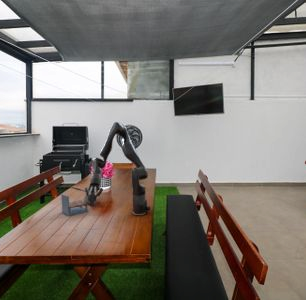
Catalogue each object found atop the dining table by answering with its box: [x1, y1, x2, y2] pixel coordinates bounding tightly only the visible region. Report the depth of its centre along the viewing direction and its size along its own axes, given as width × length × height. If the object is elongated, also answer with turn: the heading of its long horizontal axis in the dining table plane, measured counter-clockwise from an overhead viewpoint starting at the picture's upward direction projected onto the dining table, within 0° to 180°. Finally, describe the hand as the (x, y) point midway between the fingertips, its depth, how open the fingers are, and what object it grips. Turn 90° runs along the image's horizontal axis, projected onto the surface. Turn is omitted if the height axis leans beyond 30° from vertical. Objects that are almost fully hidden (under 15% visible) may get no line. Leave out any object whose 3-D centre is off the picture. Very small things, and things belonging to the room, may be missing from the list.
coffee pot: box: [70, 186, 99, 205], centre depth 209 cm, size 21×12×15 cm, turn 113°
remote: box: [89, 193, 97, 208], centre depth 186 cm, size 4×3×9 cm
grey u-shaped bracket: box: [61, 193, 89, 217], centre depth 190 cm, size 15×11×14 cm
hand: (91, 200), depth 184 cm, fingers closed on remote, 3 cm apart
